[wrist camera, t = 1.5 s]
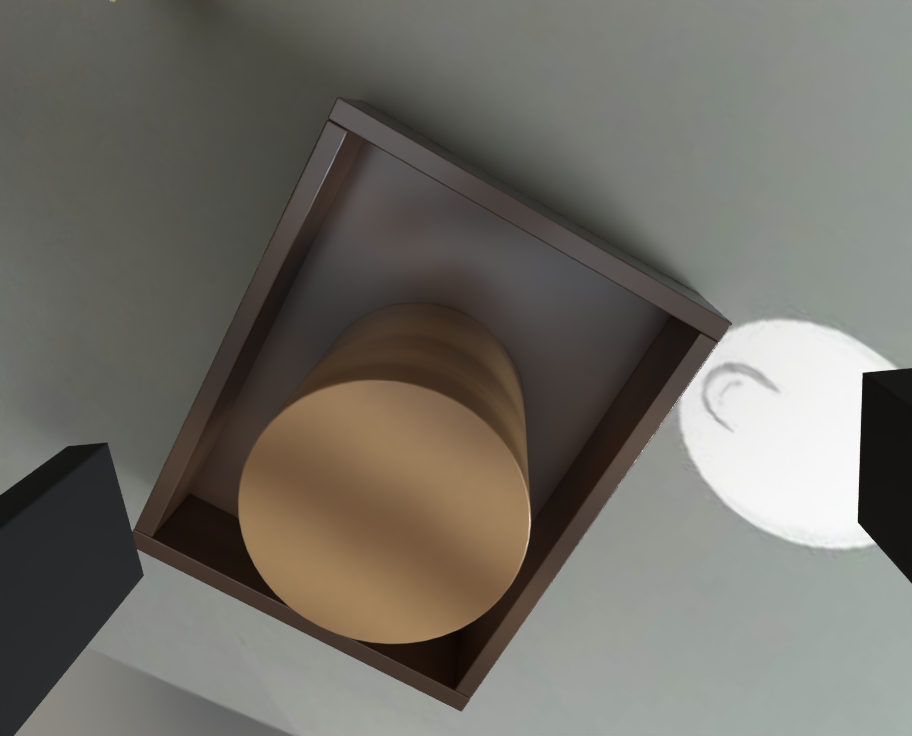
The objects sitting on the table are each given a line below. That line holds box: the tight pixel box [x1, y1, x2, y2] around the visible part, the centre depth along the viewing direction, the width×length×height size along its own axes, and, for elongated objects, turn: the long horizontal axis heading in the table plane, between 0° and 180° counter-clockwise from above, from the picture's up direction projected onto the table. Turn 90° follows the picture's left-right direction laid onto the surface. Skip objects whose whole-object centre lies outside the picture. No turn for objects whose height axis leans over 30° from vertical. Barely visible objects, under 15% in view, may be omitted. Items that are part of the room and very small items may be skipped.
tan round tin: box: [238, 303, 531, 644], centre depth 28 cm, size 9×9×10 cm
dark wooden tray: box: [132, 97, 732, 711], centre depth 31 cm, size 20×16×4 cm
